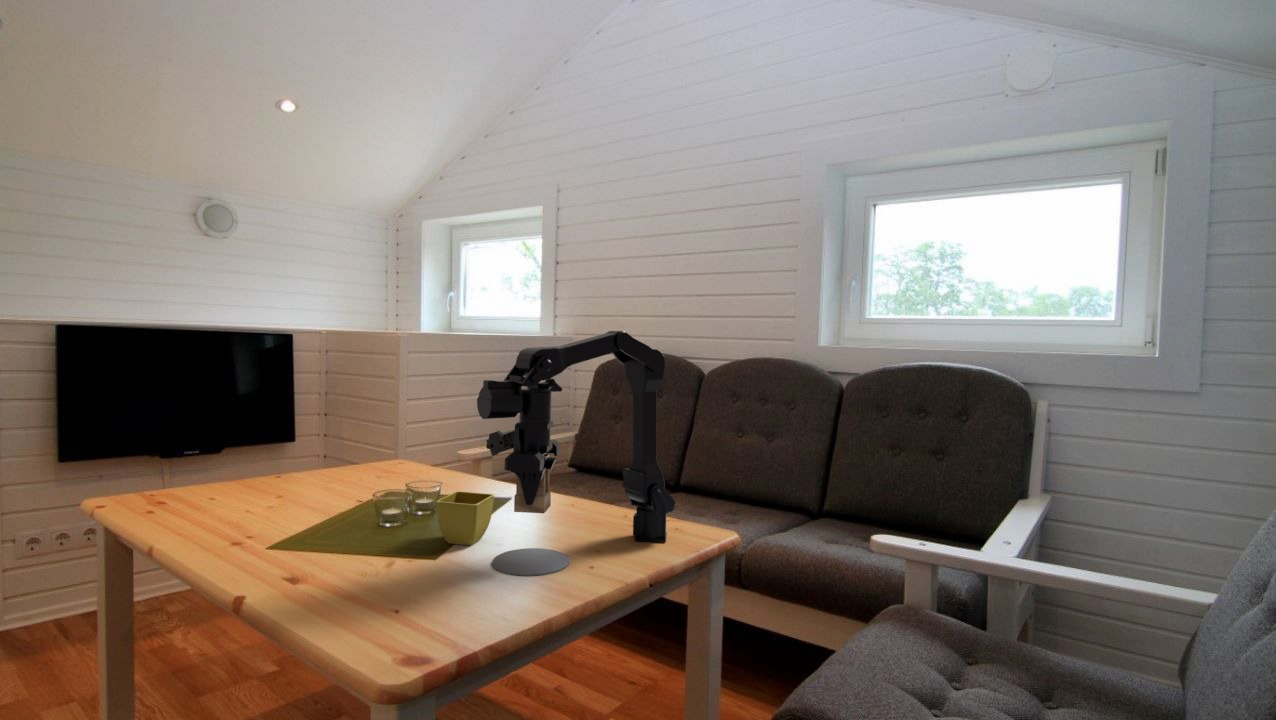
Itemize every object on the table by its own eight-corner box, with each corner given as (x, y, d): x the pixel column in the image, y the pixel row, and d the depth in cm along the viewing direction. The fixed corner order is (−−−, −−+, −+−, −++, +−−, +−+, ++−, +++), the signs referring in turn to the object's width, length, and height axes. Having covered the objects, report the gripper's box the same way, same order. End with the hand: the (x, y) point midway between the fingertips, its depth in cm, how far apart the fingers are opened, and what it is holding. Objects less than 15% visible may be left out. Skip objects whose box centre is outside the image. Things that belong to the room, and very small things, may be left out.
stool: (550, 505, 126) (551, 468, 125) (544, 513, 120) (545, 474, 120) (521, 504, 126) (522, 467, 126) (514, 511, 121) (515, 473, 120)
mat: (575, 552, 130) (575, 550, 130) (561, 578, 116) (561, 575, 116) (504, 548, 131) (504, 546, 131) (482, 573, 117) (482, 571, 117)
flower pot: (475, 550, 129) (476, 504, 129) (434, 546, 131) (434, 500, 131) (494, 537, 138) (495, 494, 138) (455, 533, 140) (456, 491, 139)
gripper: (506, 409, 132) (504, 487, 133) (475, 420, 114) (474, 511, 114) (561, 411, 132) (559, 490, 132) (540, 423, 113) (538, 515, 113)
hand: (533, 500), depth 123 cm, fingers closed on stool, 5 cm apart
